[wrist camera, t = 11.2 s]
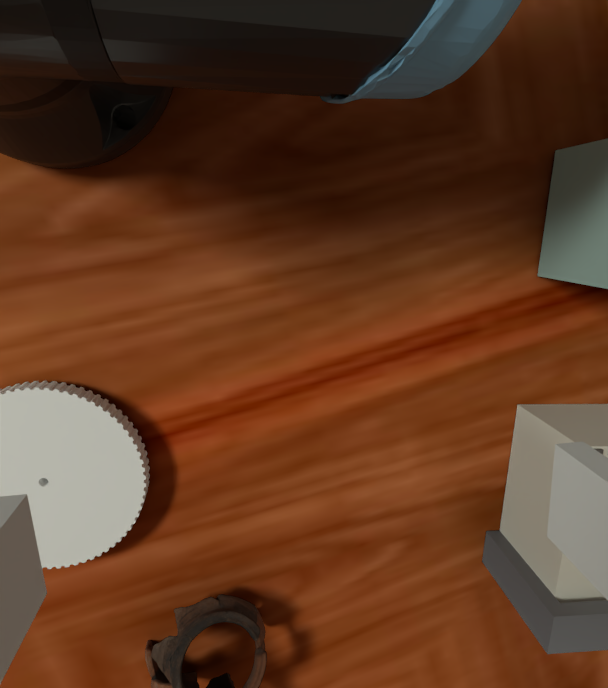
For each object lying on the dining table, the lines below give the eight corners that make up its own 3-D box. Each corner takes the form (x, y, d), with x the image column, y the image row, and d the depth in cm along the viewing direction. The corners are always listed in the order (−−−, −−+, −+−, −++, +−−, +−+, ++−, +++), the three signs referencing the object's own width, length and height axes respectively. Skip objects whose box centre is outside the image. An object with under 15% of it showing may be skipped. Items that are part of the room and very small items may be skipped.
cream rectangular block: (503, 404, 41) (582, 459, 31) (621, 403, 42) (731, 456, 33) (480, 576, 45) (544, 672, 35) (589, 571, 46) (679, 661, 36)
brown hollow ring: (120, 615, 42) (135, 650, 35) (222, 553, 46) (254, 573, 39) (177, 748, 42) (203, 811, 35) (273, 674, 46) (314, 716, 39)
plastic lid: (90, 343, 36) (79, 352, 34) (185, 498, 40) (181, 516, 37) (-86, 429, 36) (-110, 444, 34) (25, 576, 40) (11, 599, 37)
